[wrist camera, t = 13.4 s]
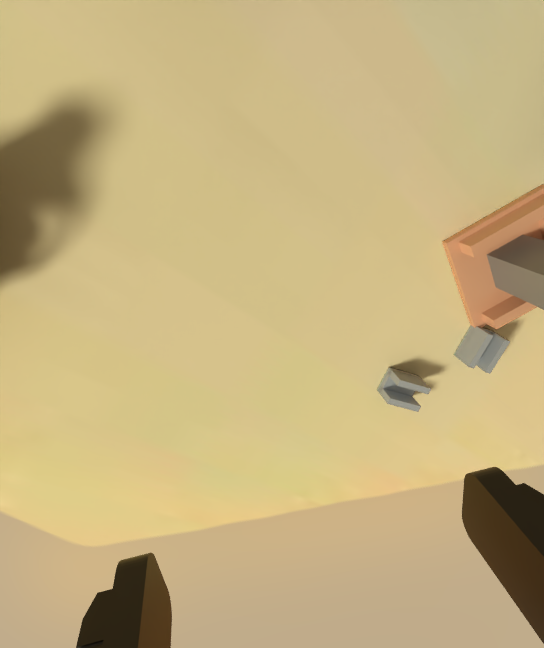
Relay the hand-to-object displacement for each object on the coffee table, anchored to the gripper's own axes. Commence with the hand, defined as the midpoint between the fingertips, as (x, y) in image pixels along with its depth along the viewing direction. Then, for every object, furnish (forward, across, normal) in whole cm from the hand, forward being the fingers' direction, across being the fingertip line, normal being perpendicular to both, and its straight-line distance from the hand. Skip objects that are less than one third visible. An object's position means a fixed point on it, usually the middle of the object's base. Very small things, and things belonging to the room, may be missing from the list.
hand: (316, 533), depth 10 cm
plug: (+29, -28, +6) cm, 41 cm away
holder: (+30, -28, +6) cm, 41 cm away
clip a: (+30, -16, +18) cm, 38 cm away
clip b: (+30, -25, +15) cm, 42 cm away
